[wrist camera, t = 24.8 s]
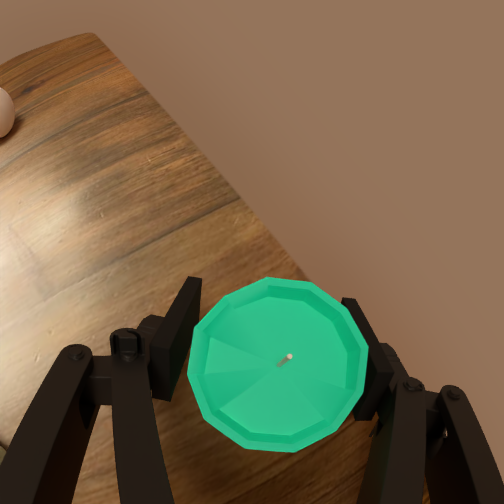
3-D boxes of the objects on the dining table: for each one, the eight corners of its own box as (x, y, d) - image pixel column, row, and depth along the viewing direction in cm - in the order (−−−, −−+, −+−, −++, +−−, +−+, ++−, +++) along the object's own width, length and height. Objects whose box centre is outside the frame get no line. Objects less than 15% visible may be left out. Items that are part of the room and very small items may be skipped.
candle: (293, 333, 21) (362, 248, 10) (308, 421, 18) (404, 432, 7) (202, 343, 20) (171, 266, 9) (213, 434, 17) (191, 474, 7)
